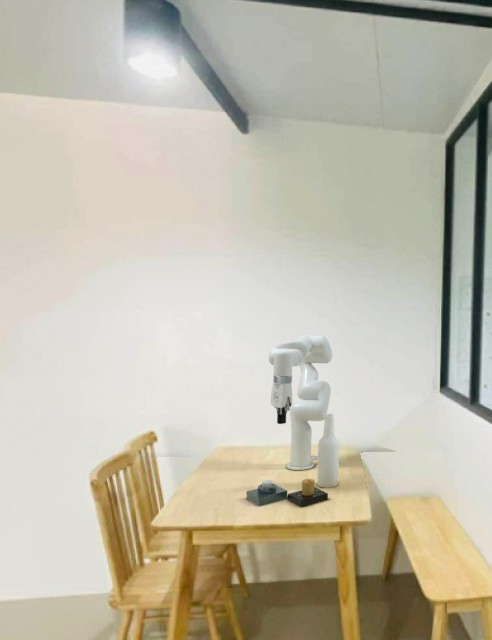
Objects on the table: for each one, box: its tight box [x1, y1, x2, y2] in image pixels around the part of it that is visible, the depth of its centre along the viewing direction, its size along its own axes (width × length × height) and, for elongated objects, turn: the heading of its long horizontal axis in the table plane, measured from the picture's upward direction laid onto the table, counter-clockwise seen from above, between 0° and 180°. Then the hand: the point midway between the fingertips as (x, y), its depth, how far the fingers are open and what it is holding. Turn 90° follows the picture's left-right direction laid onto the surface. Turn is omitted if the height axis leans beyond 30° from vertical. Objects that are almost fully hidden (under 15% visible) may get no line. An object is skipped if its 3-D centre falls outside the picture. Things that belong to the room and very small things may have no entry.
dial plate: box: [287, 486, 329, 508], centre depth 198 cm, size 12×10×3 cm
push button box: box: [246, 482, 288, 507], centre depth 199 cm, size 12×10×5 cm
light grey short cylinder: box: [261, 479, 274, 488], centre depth 199 cm, size 4×4×2 cm
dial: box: [301, 478, 316, 496], centre depth 198 cm, size 5×5×5 cm
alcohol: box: [316, 413, 340, 489], centre depth 217 cm, size 9×9×30 cm
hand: (281, 423), depth 212 cm, fingers closed
